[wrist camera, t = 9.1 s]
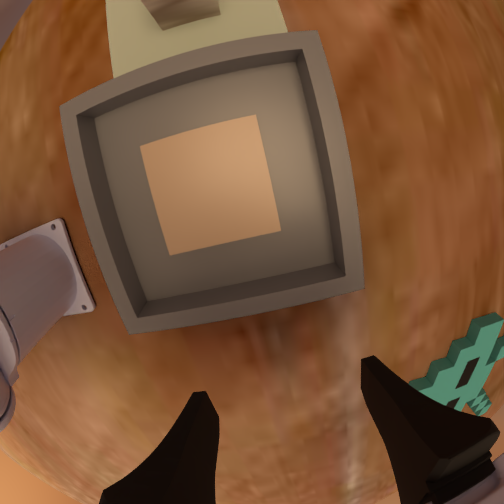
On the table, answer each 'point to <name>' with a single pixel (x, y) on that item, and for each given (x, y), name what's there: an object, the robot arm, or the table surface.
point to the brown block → (180, 11)
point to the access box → (217, 183)
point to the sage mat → (183, 30)
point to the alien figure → (465, 367)
